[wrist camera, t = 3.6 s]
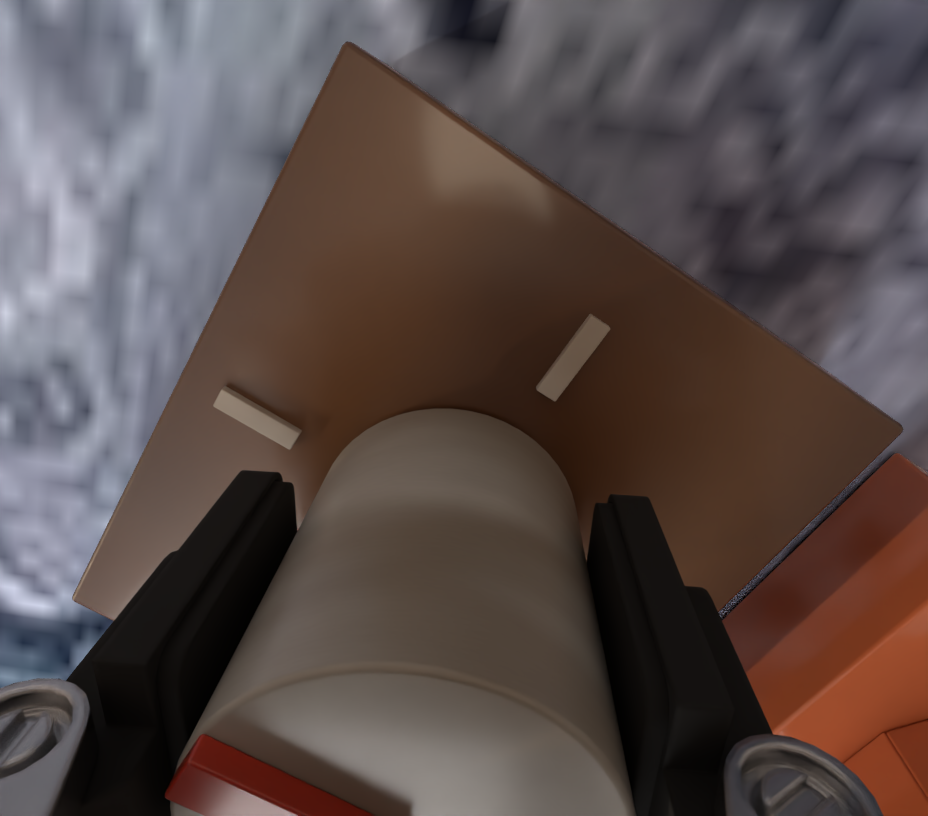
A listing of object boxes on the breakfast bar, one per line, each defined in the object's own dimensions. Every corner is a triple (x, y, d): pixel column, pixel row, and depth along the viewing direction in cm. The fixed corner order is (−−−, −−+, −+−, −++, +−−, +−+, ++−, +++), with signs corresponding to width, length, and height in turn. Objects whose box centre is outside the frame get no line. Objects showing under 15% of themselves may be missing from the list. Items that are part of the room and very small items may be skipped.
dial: (630, 496, 11) (756, 850, 5) (484, 664, 12) (469, 1070, 7) (401, 355, 10) (285, 603, 5) (276, 553, 12) (82, 909, 6)
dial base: (821, 366, 13) (914, 433, 10) (508, 706, 17) (509, 826, 14) (383, 61, 11) (341, 35, 8) (148, 515, 15) (63, 606, 12)
